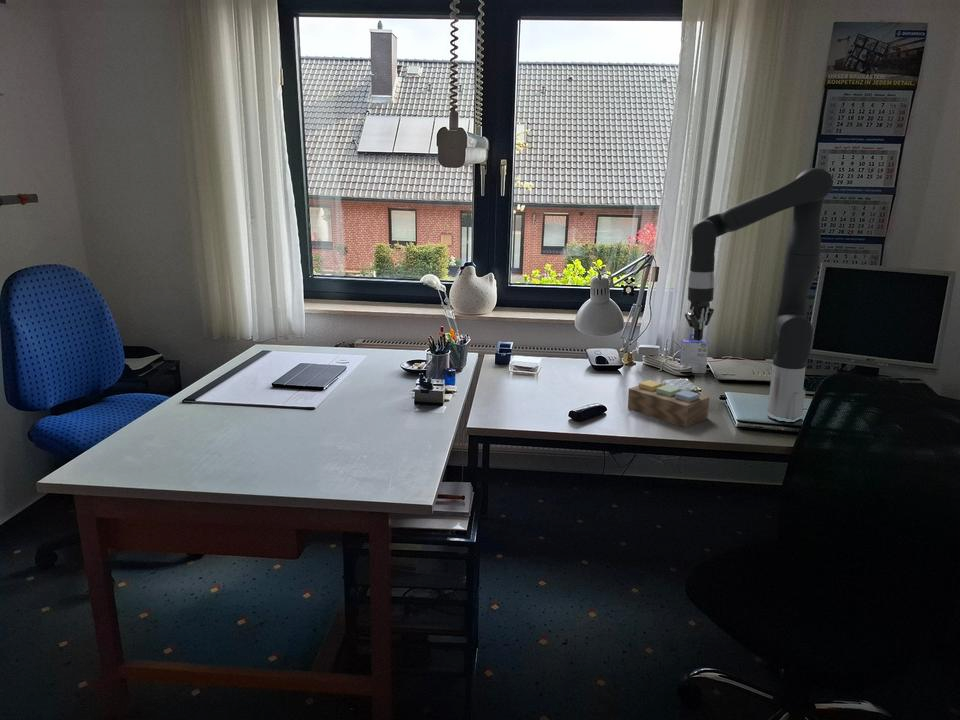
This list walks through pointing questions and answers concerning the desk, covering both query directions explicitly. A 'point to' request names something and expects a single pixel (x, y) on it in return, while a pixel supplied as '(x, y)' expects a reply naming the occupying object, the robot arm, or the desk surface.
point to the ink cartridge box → (694, 354)
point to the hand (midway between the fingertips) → (698, 339)
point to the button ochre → (650, 385)
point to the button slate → (687, 396)
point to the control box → (668, 406)
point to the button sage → (668, 390)
